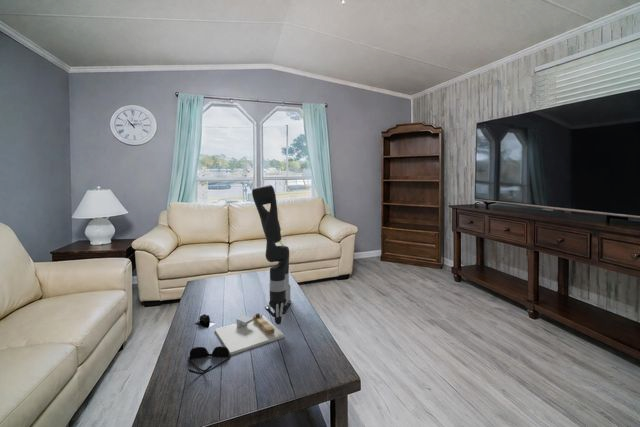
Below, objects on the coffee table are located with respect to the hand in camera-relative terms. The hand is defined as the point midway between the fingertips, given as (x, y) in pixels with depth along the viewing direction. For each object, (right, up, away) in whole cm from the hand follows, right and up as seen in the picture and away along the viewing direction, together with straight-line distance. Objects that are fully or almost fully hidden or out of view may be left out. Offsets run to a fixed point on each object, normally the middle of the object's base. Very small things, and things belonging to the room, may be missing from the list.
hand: (278, 323), depth 141 cm
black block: (-38, -4, +10) cm, 40 cm away
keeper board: (-14, -5, -1) cm, 15 cm away
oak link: (-8, -2, +4) cm, 9 cm away
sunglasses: (-25, -8, -25) cm, 36 cm away
